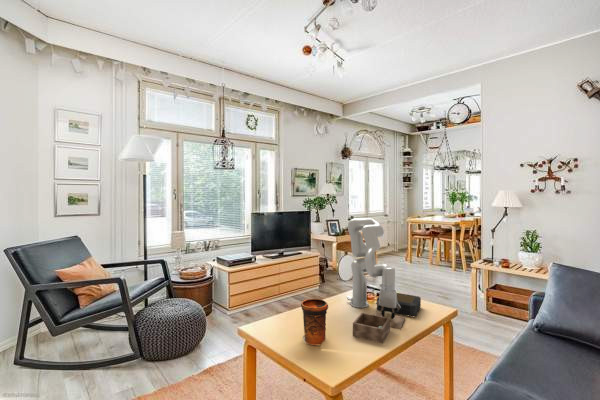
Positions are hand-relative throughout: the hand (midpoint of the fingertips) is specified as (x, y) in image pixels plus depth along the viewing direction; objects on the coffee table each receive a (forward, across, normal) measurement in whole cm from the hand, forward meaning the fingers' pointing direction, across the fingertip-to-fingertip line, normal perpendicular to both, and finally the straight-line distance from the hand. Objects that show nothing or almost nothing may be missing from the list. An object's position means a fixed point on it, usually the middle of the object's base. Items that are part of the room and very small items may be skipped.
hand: (388, 317), depth 184 cm
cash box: (+4, +1, +25) cm, 25 cm away
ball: (0, 0, -17) cm, 17 cm away
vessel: (+3, -29, -41) cm, 50 cm away
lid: (+3, 0, 0) cm, 3 cm away
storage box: (+3, -4, -21) cm, 22 cm away
